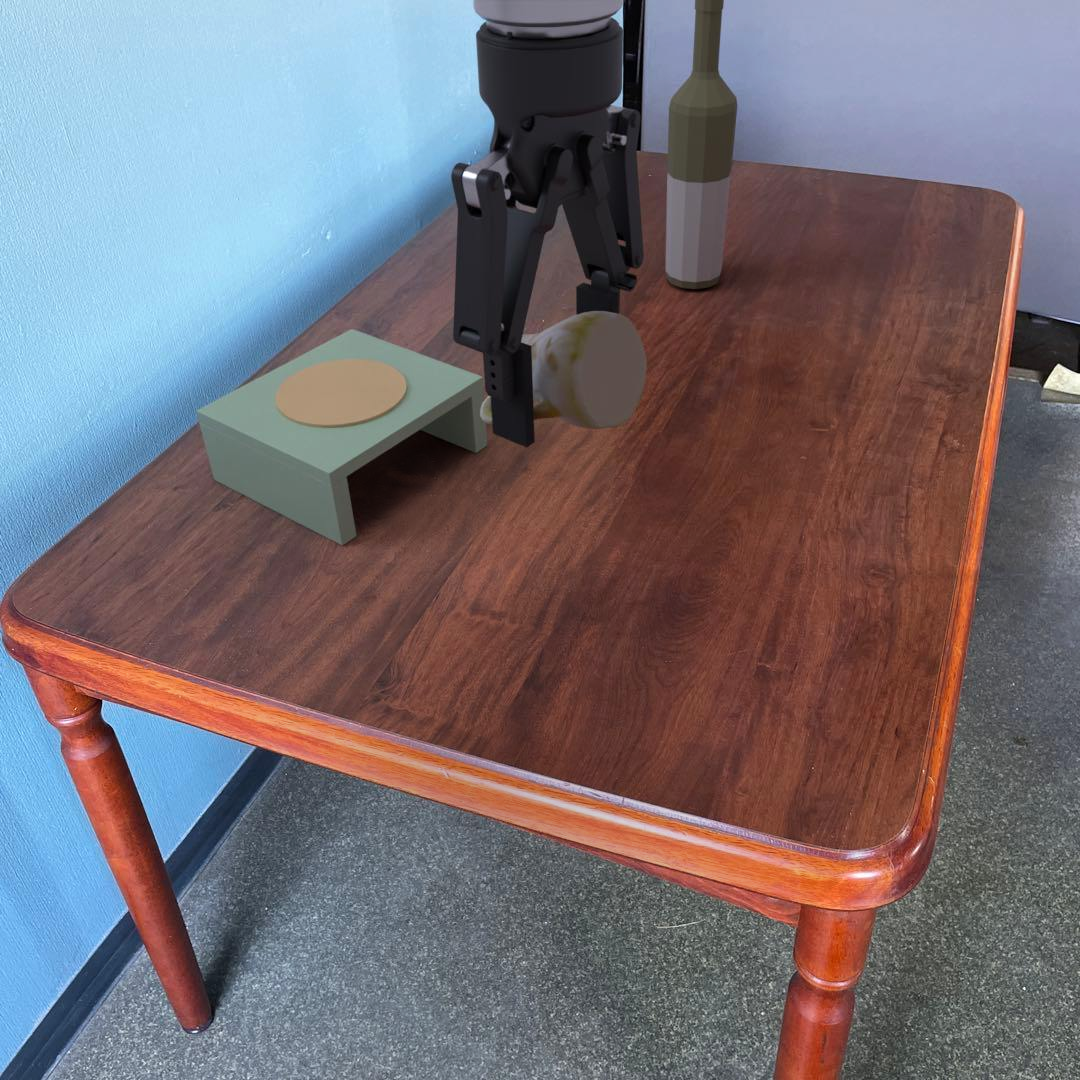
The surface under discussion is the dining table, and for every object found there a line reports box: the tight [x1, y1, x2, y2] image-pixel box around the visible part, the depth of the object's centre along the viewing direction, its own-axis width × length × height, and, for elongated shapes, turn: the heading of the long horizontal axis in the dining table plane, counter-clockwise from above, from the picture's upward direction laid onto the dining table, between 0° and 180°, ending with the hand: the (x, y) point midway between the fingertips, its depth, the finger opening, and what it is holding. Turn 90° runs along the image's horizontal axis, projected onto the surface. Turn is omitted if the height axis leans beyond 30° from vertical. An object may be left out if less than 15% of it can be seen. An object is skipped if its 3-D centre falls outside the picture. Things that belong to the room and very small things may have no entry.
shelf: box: [195, 328, 488, 546], centre depth 93 cm, size 16×18×7 cm
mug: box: [480, 311, 648, 430], centre depth 67 cm, size 8×10×10 cm
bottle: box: [664, 0, 738, 290], centre depth 113 cm, size 7×7×30 cm
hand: (556, 408), depth 68 cm, fingers closed on mug, 8 cm apart
